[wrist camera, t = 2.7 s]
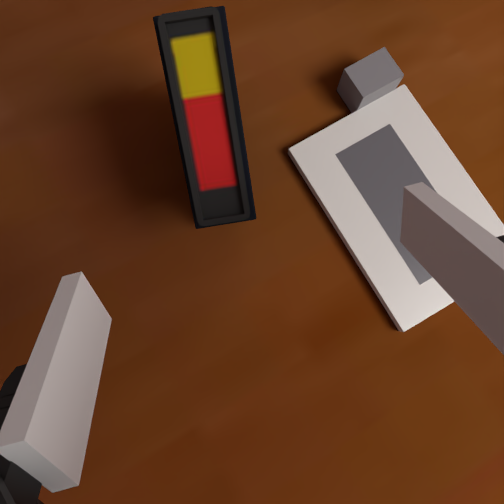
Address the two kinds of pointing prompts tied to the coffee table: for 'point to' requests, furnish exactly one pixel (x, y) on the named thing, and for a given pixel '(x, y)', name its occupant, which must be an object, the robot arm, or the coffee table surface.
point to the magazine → (206, 114)
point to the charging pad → (386, 183)
